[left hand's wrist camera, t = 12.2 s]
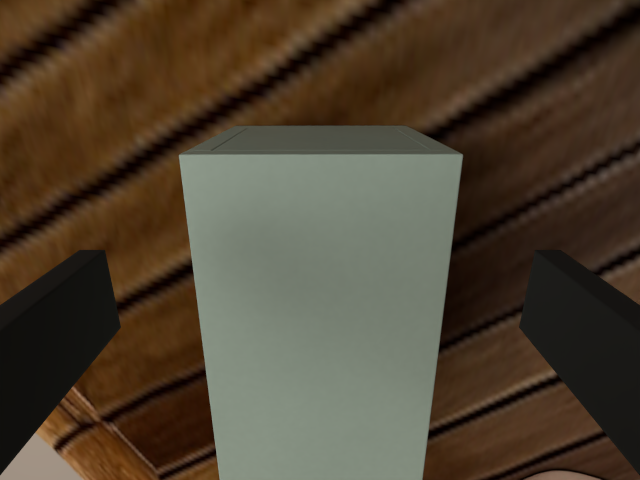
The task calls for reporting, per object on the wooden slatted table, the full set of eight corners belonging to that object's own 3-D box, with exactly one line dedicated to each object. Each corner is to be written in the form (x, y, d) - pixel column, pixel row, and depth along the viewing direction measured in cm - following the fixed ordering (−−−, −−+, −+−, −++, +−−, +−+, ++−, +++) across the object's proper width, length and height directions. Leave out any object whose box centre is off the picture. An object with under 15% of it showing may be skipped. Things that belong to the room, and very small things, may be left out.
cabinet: (388, 365, 35) (420, 496, 24) (252, 365, 35) (221, 496, 24) (406, 125, 28) (463, 153, 17) (234, 125, 28) (178, 154, 17)
